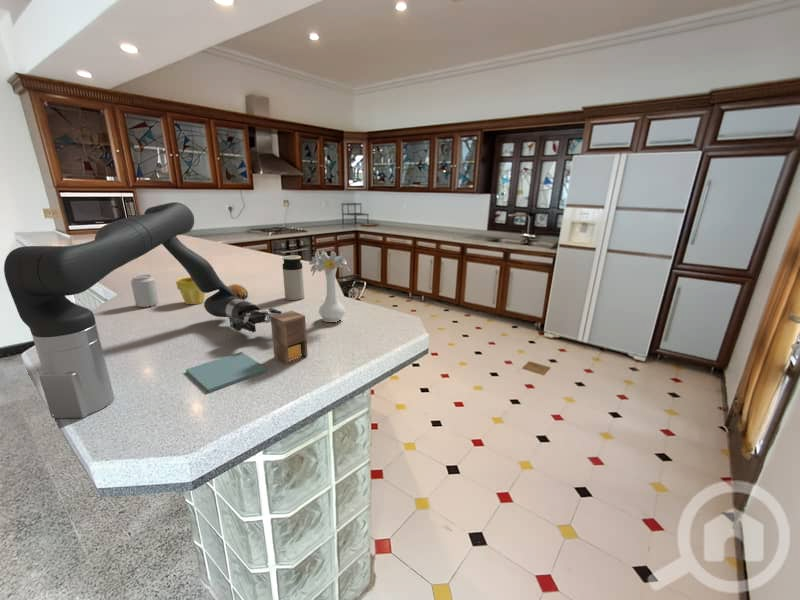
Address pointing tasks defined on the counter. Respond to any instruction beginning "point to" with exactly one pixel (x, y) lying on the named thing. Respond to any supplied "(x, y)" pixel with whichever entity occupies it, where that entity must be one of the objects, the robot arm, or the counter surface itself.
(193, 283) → the plant pot
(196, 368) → the teal mat
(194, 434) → the counter surface
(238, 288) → the bread roll
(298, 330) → the walnut cover
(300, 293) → the travel mug
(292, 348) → the orange block
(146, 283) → the can
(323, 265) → the flower vase
